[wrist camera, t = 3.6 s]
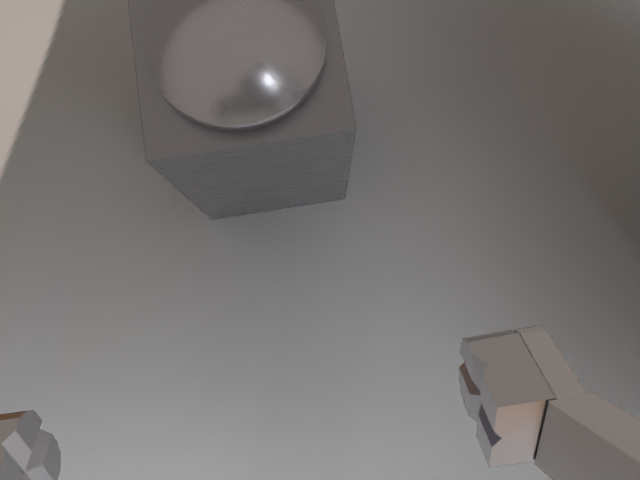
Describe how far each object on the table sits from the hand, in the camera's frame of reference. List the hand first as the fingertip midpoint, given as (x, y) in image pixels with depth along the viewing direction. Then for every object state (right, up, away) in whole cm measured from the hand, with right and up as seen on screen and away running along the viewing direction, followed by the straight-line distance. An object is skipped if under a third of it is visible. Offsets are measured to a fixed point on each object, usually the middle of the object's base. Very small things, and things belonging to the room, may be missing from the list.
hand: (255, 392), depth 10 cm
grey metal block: (-1, +7, +14) cm, 16 cm away
